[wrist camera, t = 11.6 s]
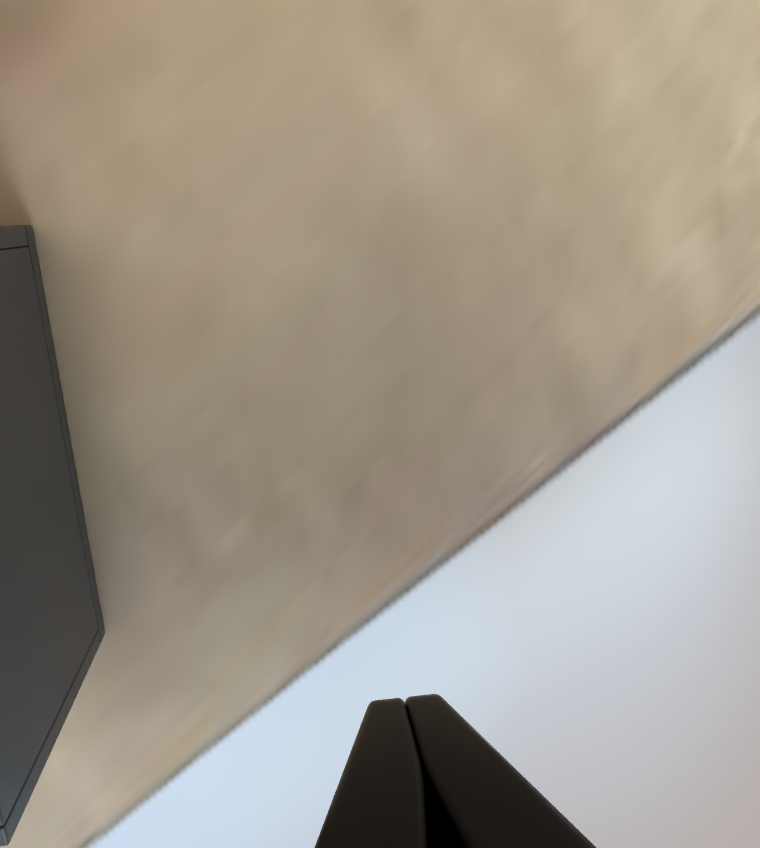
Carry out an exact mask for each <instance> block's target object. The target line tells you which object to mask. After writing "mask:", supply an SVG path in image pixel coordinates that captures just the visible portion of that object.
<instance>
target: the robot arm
mask: <svg viewBox="0 0 760 848" xmlns="http://www.w3.org/2000/svg"><path fill="white" fill-rule="evenodd" d="M315 848H596V847H595V846H594V845H593V844H592V843H591V842H590V841H589V840H588V839H587V838H586V837H585V836H584V835H583V834H582V833H581V832H580V831H579V830H578V829H576V827H575V826H574V825H572V823H570V822H569V821H568V820H567V819H566V818H565V817H564V816H563V815H562V814H561V813H560V812H559V811H558V810H557V809H556V808H555V807H554V806H553V805H552V804H551V803H550V802H549V801H548V800H547V799H546V798H545V797H544V796H543V795H542V794H541V793H540V792H539V791H538V790H537V789H536V788H535V787H533V786H532V785H531V784H530V783H529V782H528V781H527V780H526V779H525V778H524V777H523V776H522V775H521V774H520V773H519V772H518V771H517V770H516V769H515V768H514V767H513V766H512V765H511V764H510V763H509V762H508V761H506V759H505V758H504V757H503V756H502V755H501V754H500V753H499V752H497V751H496V750H495V749H494V748H493V747H492V746H491V745H490V744H489V743H488V742H487V741H486V740H485V739H484V738H483V737H482V736H481V735H480V734H479V733H478V732H477V731H476V730H475V729H474V728H473V727H472V726H471V725H470V724H469V723H468V722H466V720H464V718H463V717H462V716H460V715H459V714H458V713H457V712H456V711H455V710H454V709H453V708H452V707H451V706H450V705H449V704H448V703H447V702H446V701H445V700H444V699H443V698H442V697H441V696H439V695H437V694H431V695H421V696H413V697H408V698H407V699H406V701H405V702H404V701H403V700H402V699H400V698H395V699H385V700H376V701H372V702H371V703H370V704H369V706H368V708H367V710H366V713H365V716H364V718H363V721H362V724H361V726H360V729H359V732H358V734H357V737H356V739H355V742H354V745H353V747H352V750H351V753H350V755H349V758H348V761H347V763H346V766H345V769H344V771H343V774H342V776H341V779H340V782H339V785H338V787H337V790H336V792H335V795H334V798H333V800H332V803H331V806H330V808H329V811H328V814H327V816H326V819H325V822H324V824H323V827H322V830H321V832H320V835H319V838H318V840H317V843H316V845H315Z"/></svg>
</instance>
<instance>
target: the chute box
mask: <svg viewBox="0 0 760 848" xmlns="http://www.w3.org/2000/svg"><path fill="white" fill-rule="evenodd" d="M104 634H105V633H104V627H103V622H102V616H101V610H100V605H99V599H98V594H97V588H96V582H95V577H94V571H93V566H92V560H91V554H90V549H89V543H88V537H87V532H86V526H85V521H84V515H83V509H82V504H81V498H80V493H79V487H78V481H77V476H76V470H75V465H74V459H73V453H72V448H71V442H70V437H69V431H68V425H67V420H66V414H65V408H64V403H63V397H62V392H61V386H60V380H59V375H58V369H57V364H56V358H55V352H54V347H53V341H52V336H51V330H50V324H49V319H48V313H47V307H46V302H45V296H44V291H43V285H42V279H41V274H40V268H39V263H38V257H37V251H36V246H35V240H34V235H33V229H32V226H30V225H24V226H0V846H6V845H8V844H9V843H10V840H11V838H12V836H13V834H14V832H15V829H16V827H17V825H18V823H19V821H20V818H21V816H22V814H23V812H24V810H25V808H26V805H27V803H28V801H29V799H30V797H31V794H32V792H33V790H34V788H35V786H36V783H37V781H38V779H39V777H40V775H41V772H42V770H43V768H44V766H45V764H46V762H47V759H48V757H49V755H50V753H51V751H52V748H53V746H54V744H55V742H56V740H57V737H58V735H59V733H60V731H61V729H62V727H63V724H64V722H65V720H66V718H67V716H68V713H69V711H70V709H71V707H72V705H73V702H74V700H75V698H76V696H77V694H78V692H79V689H80V687H81V685H82V683H83V681H84V678H85V676H86V674H87V672H88V670H89V667H90V665H91V663H92V661H93V659H94V656H95V654H96V652H97V650H98V648H99V646H100V643H101V641H102V639H103V637H104Z"/></svg>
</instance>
